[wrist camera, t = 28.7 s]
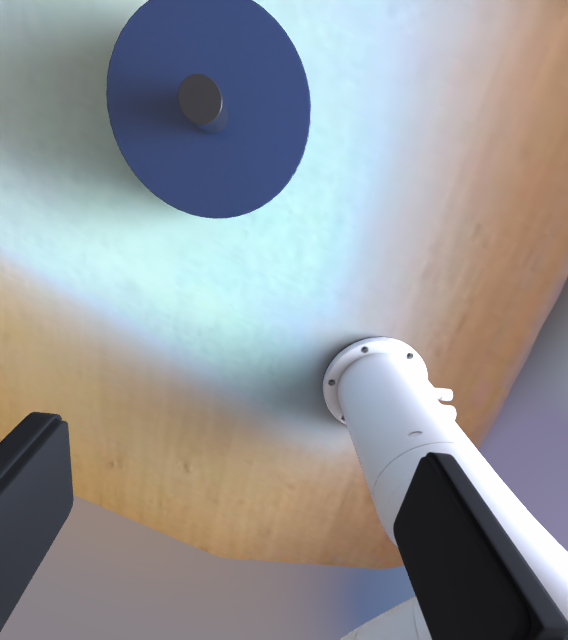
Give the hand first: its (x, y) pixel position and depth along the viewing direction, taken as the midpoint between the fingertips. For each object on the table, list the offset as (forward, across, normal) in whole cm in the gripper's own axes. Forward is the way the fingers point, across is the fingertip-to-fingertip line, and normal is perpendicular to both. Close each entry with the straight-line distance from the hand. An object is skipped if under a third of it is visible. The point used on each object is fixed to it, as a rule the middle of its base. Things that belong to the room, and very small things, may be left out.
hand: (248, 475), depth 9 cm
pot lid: (+22, +5, -11) cm, 25 cm away
